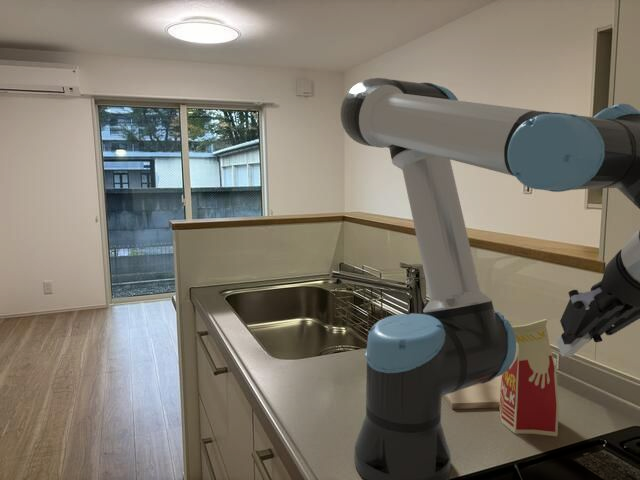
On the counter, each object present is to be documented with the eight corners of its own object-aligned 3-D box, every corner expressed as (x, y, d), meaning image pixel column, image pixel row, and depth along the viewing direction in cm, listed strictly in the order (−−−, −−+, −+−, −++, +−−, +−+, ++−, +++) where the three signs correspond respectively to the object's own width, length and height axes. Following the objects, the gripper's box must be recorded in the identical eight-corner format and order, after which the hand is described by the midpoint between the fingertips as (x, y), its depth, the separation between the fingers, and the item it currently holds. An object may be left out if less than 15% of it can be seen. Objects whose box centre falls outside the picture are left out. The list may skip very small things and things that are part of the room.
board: (451, 408, 93) (452, 403, 93) (428, 374, 109) (428, 369, 109) (540, 406, 94) (540, 400, 94) (504, 372, 110) (504, 367, 110)
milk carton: (541, 410, 93) (548, 311, 90) (560, 436, 84) (568, 328, 81) (493, 408, 94) (498, 310, 91) (506, 434, 84) (513, 326, 82)
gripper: (612, 295, 55) (531, 372, 74) (718, 292, 56) (612, 370, 75) (587, 243, 59) (517, 328, 78) (685, 241, 60) (593, 326, 79)
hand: (563, 348), depth 76 cm, fingers closed
